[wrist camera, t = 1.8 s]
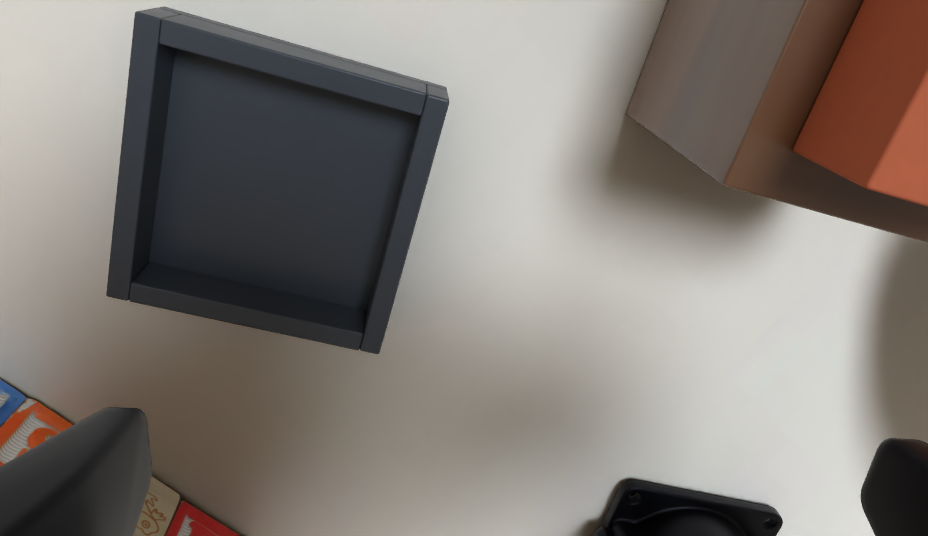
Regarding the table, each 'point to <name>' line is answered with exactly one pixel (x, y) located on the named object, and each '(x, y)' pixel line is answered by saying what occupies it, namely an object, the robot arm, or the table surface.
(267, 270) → the dark gray square tray
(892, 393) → the table surface
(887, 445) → the robot arm
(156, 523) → the stack of blocks
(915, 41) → the orange square block
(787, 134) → the brown wooden cube
